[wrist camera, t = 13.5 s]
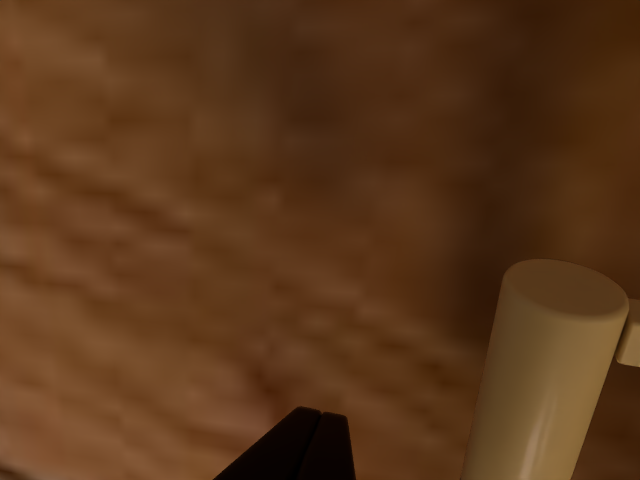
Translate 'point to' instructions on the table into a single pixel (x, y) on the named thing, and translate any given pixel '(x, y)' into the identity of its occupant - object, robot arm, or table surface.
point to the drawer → (547, 369)
